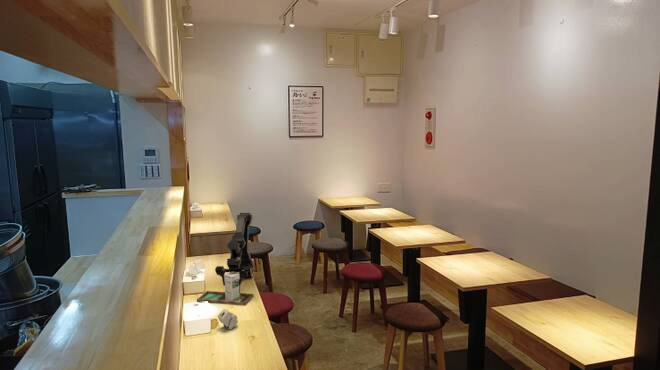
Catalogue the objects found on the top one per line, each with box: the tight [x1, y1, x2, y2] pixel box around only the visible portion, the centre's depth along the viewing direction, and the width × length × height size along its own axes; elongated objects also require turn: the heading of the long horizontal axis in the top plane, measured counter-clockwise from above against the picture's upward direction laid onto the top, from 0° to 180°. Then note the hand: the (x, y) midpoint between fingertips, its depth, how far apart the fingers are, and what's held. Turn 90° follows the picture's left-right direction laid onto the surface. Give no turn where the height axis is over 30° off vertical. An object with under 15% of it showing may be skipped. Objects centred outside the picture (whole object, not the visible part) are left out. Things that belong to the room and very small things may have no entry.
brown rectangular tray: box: [196, 290, 255, 306], centre depth 233 cm, size 27×12×2 cm, turn 79°
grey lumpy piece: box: [217, 308, 239, 330], centre depth 200 cm, size 6×7×10 cm
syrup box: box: [224, 271, 242, 301], centre depth 231 cm, size 6×6×14 cm
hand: (231, 285), depth 230 cm, fingers closed on syrup box, 8 cm apart
